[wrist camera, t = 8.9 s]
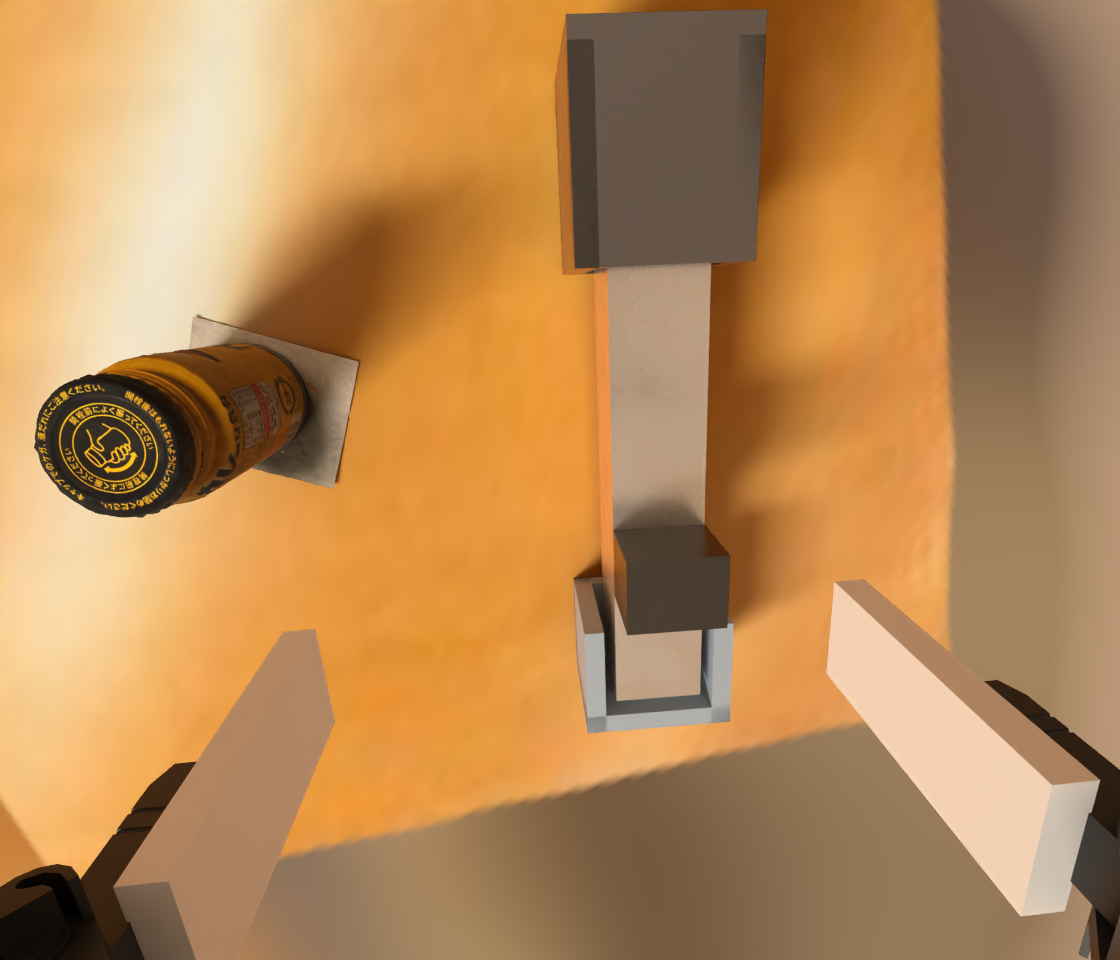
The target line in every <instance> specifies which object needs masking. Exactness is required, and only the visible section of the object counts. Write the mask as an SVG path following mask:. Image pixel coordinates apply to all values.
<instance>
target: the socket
mask: <svg viewBox="0 0 1120 960" xmlns="http://www.w3.org/2000/svg"><path fill="white" fill-rule="evenodd" d="M574 598H575V622H576V646H577V666H578V672H579V678H580V685H581V691H582V697H583V704H584V710H585V716H586V723H587V729H588V733H597V732H610V731H622V730H634V729H646V728H658V727H671V726H683V725H695V724H707V723H719V722H730V699H731V676H732V652H733V629H734V623H733V621H732V620H731V618H730V617H729V615H728V626H727V628H721V629H707V630H702V639H701V678H700V694H699V695H687V696H674V697H661V698H649V699H636V700H624V701H617V700H616V696H615V692H614V688H613V684H612V680H611V676H610V671H609V667H608V663H607V659H606V655H605V650H604V626H603V590H602V577H590V578H575V579H574Z"/></svg>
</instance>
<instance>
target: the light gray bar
mask: <svg viewBox="0 0 1120 960" xmlns="http://www.w3.org/2000/svg"><path fill="white" fill-rule="evenodd" d="M710 290H711V263H706V264H684V265H662V266H639V267H617V268H597V269H594V296H595V333H596V370H597V406H598V443H599V480H600V516H601V553H602V590H603V626H604V650H605V655H606V659H607V663H608V667H609V671H610V676H611V680H612V684H613V688H614V692H615V696H616V700H617V701H624V700H636V699H649V698H661V697H674V696H687V695H699V694H700V678H701V639H702V630H707V629H721V628H727V626H728V601H729V576H730V555H729V554H728V552H727V551H726V550H725V549H724V547H723V546H722V545H721V544H720V543H719V541H718V540H717V539H716V538H715V536H714V535H713V534H712V533H711V532H710V530H709V529H708V528H707V527H706V525H705V524H704V523H705V484H706V445H707V406H708V367H709V329H710Z"/></svg>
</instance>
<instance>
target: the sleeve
mask: <svg viewBox="0 0 1120 960" xmlns="http://www.w3.org/2000/svg"><path fill="white" fill-rule="evenodd" d="M766 24H767V9H754V10H714V11H673V12H632V13H592V14H566V17H565V23H564V30H563V36H562V42H561V48H560V54H559V60H558V66H557V72H556V78H555V100H556V124H557V149H558V173H559V197H560V221H561V245H562V269H563V275H577V274H594V269H597V268H617V267H639V266H662V265H684V264H706V263H711V268H712V267H718V266H724V265H730V264H737V263H743V262H749V261H756V242H757V220H758V199H759V177H760V155H761V133H762V111H763V89H764V68H765V46H766Z"/></svg>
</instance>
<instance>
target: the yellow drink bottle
mask: <svg viewBox="0 0 1120 960" xmlns="http://www.w3.org/2000/svg"><path fill="white" fill-rule="evenodd" d="M190 341H191V342H190V348H189V349H188V350H178V351H174V352H168V353H166V352H165V353H158V354H152V355H142V356H139V357H135V358H131V359H126V360H122V361H119V362H117V363H115V364H113V365H111V366H109V367H108V368H106V369H104V370H102V371H100V372H99V373H97V374H96V375H86V376H84V377H81V378H80V379H74V380H73V381H71V382H68V383H66V384H64V385H62V386H61V387H59V388H58V389H57V390H55V391H54V392H53V393H52V394H51V396H50V397H49V398H48V399H47V400H46V402H45V403H44V404H43V406H42V408H41V410H40V412H39V415H38V418H37V428H36V434H35V441H36V442H35V446H34V448H35V449H36V451H37V452H38V454H39V458H40V462H41V464H42V467H43V469H44V471H45V472H46V473H47V474H48V476H49V477H50V479H51V480H52V481H53V482H54V483H55V484H56V485H57V487H58V489H59V490H60V491H61V492H62V493H63V494H65V495H66V496H68V497H69V498H70V499H72V500H73V501H75V502H77V503H78V504H80V505H82V506H83V507H85V508H86V509H88V510H90V511H93V512H95V513H98V514H103V515H110V516H115V517H138V518H139V517H144V516H145V515H147V514H154V513H158V512H160V510H162V509H166V508H168V507H170V506H172V505H174V504H180V503H187V502H191V501H194V500H197V499H200V498H203V497H205V496H207V495H208V494H209V493H211V492H213V491H215V490H216V489H218V488H220V487H221V486H223V485H225V484H226V483H228V482H229V481H231V480H232V479H234V478H236V477H238V476H239V475H240V474H242V473H244V472H245V471H247V470H249V469H250V468H254V469H257V470H262V471H265V472H268V473H272V474H277V475H282V476H285V477H289V478H294V479H298V480H302V481H306V482H309V483H312V484H315V485H320V486H325V487H329V488H334V484H335V479H336V474H337V471H338V465H339V461H340V456H341V450H342V446H343V442H344V436H345V431H346V426H347V421H348V416H349V411H350V405H351V400H352V395H353V390H354V386H355V379H356V374H357V369H358V364H359V362H358V361H354V360H351V359H347V358H343V357H340V356H336V355H333V354H329V353H325V352H321V351H318V350H314V349H310V348H307V347H303V346H299V345H296V344H292V343H289V342H285V341H282V340H278V339H275V338H271V337H268V336H264V335H260V334H257V333H253V332H249V331H246V330H242V329H238V328H235V327H231V326H227V325H223V324H220V323H217V322H213V321H209V320H205V319H201V318H197V317H193V322H192V331H191V339H190ZM307 382H310V384H311V387H308V385H307ZM312 388H315V389H316V390H317V394H315V393H314V392H313V390H312ZM282 451H284V453H283V452H282Z"/></svg>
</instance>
